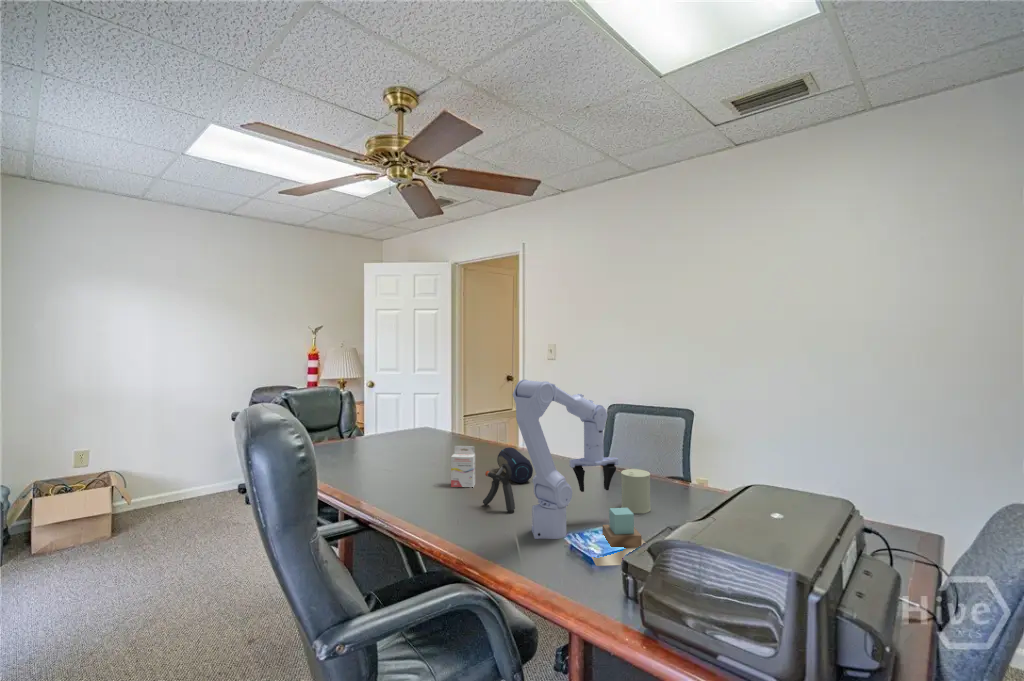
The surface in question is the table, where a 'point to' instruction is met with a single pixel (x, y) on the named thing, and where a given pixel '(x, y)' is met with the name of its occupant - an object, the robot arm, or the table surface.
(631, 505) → the can
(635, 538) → the walnut base
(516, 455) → the portable speaker
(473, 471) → the ink cartridge box
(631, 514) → the teal cube
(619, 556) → the birch board
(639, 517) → the table surface
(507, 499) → the hand grip strengthener
